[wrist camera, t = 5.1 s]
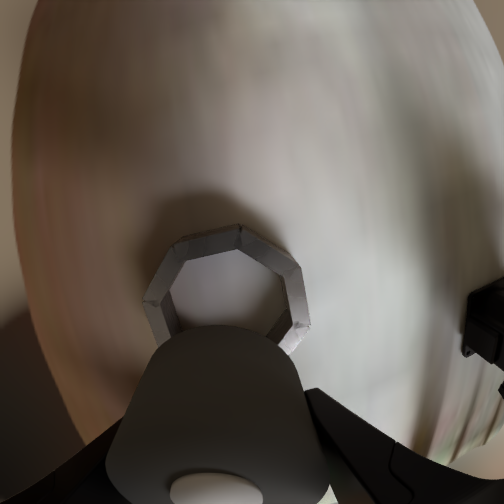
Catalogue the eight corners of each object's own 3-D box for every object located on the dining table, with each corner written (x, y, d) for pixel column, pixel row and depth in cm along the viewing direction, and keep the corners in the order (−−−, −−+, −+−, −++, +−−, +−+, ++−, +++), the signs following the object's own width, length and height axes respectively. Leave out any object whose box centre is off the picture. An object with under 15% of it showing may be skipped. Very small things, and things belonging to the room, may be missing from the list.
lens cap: (287, 309, 8) (327, 407, 4) (307, 428, 9) (333, 521, 5) (123, 338, 8) (61, 429, 4) (175, 447, 9) (158, 535, 5)
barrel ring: (284, 213, 18) (291, 217, 15) (308, 344, 19) (316, 363, 17) (141, 247, 18) (127, 255, 15) (182, 369, 19) (176, 390, 17)
